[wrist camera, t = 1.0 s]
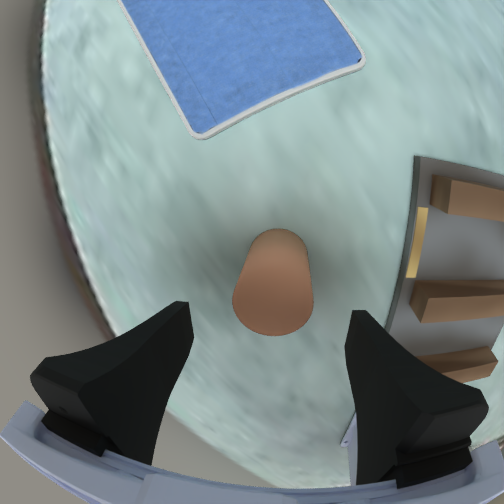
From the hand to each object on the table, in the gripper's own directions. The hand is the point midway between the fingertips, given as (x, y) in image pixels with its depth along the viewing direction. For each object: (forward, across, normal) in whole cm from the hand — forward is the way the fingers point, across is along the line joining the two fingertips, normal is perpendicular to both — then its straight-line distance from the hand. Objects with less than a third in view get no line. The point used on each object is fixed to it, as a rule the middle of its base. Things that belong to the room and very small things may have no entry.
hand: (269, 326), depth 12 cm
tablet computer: (+9, +4, -19) cm, 21 cm away
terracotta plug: (+8, 0, 0) cm, 8 cm away
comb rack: (+8, -16, +2) cm, 18 cm away
